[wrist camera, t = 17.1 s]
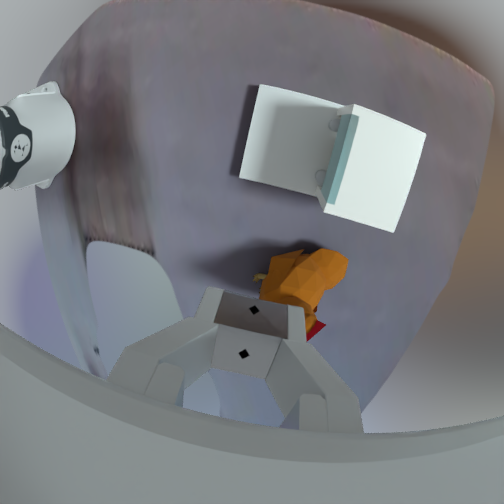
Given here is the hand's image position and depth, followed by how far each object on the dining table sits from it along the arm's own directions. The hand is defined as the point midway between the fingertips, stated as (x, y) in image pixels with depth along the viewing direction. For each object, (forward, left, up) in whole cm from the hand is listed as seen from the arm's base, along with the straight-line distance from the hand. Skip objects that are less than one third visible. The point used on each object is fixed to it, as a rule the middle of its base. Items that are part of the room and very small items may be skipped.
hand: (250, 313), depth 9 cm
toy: (+7, -13, -29) cm, 33 cm away
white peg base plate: (+5, +4, -29) cm, 30 cm away
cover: (+10, +4, -27) cm, 29 cm away
